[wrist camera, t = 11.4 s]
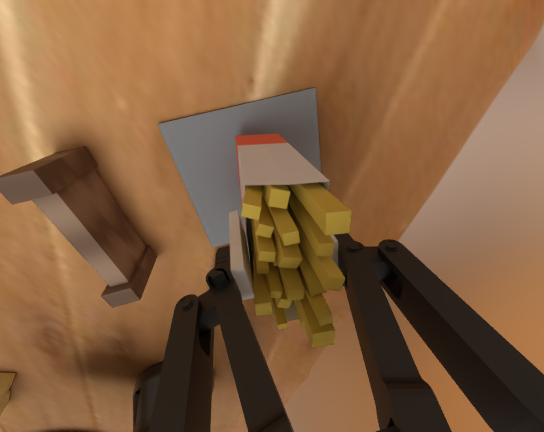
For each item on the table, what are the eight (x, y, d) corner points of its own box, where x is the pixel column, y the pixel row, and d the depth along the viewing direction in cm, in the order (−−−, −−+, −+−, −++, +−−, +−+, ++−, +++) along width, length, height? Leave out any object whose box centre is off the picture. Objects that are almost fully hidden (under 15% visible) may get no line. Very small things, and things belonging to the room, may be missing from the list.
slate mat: (322, 215, 31) (324, 217, 31) (212, 245, 30) (212, 247, 30) (313, 87, 23) (315, 87, 22) (159, 123, 22) (157, 124, 21)
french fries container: (239, 219, 28) (257, 376, 13) (230, 131, 23) (243, 226, 7) (274, 216, 29) (329, 361, 14) (273, 129, 23) (366, 213, 8)
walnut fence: (156, 256, 30) (140, 300, 24) (134, 262, 29) (112, 307, 23) (85, 146, 21) (32, 170, 16) (54, 153, 21) (-11, 180, 15)
